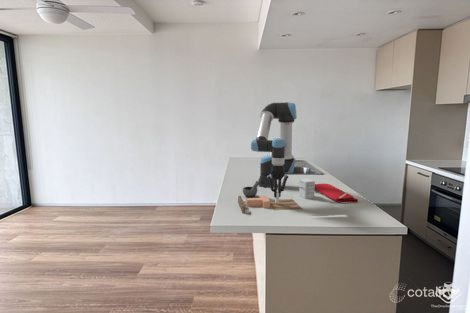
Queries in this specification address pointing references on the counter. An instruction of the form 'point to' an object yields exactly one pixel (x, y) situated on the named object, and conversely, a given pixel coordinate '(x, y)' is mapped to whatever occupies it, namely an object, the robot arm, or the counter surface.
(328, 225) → the counter surface
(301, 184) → the supplement box
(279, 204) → the board
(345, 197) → the dish drying mat
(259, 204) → the tee
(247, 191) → the mortar and pestle
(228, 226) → the counter surface
